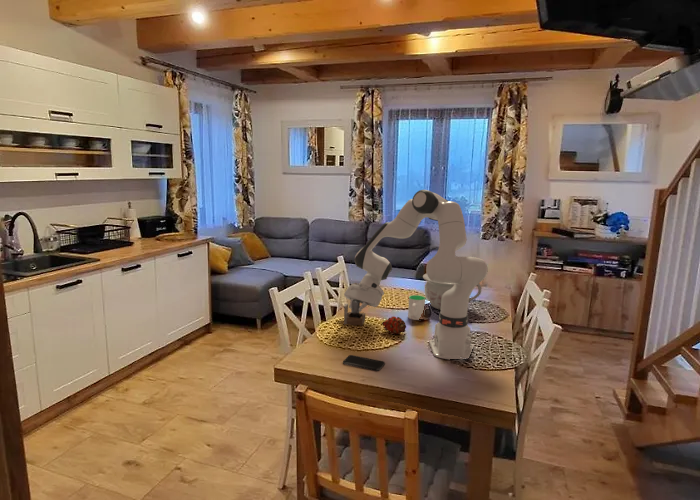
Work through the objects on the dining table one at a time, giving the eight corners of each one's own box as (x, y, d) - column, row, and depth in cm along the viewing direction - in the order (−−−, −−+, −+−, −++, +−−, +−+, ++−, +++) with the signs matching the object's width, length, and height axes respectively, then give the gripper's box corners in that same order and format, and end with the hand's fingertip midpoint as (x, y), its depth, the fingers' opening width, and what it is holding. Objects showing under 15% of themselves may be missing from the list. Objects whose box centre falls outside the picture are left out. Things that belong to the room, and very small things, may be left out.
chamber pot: (411, 302, 253) (413, 266, 250) (451, 297, 265) (453, 263, 261) (441, 318, 229) (443, 278, 225) (483, 312, 240) (487, 274, 236)
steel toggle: (358, 321, 218) (358, 303, 216) (350, 320, 219) (350, 302, 217) (360, 318, 222) (360, 300, 220) (352, 317, 223) (352, 299, 221)
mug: (421, 323, 221) (422, 303, 219) (405, 321, 224) (406, 301, 222) (425, 315, 232) (426, 296, 230) (409, 313, 235) (410, 294, 233)
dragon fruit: (407, 339, 204) (382, 338, 210) (411, 324, 210) (387, 323, 215) (401, 328, 199) (376, 327, 205) (406, 313, 204) (381, 312, 210)
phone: (378, 369, 169) (342, 362, 175) (378, 372, 169) (341, 364, 175) (385, 361, 176) (350, 354, 182) (385, 364, 176) (349, 357, 182)
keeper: (361, 327, 214) (361, 307, 212) (343, 325, 216) (343, 305, 214) (365, 320, 224) (365, 300, 222) (348, 318, 226) (348, 299, 224)
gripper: (350, 278, 229) (336, 301, 224) (381, 286, 215) (367, 310, 210) (355, 285, 233) (342, 307, 228) (387, 293, 219) (373, 317, 214)
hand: (354, 309), depth 219 cm, fingers closed on steel toggle, 4 cm apart
